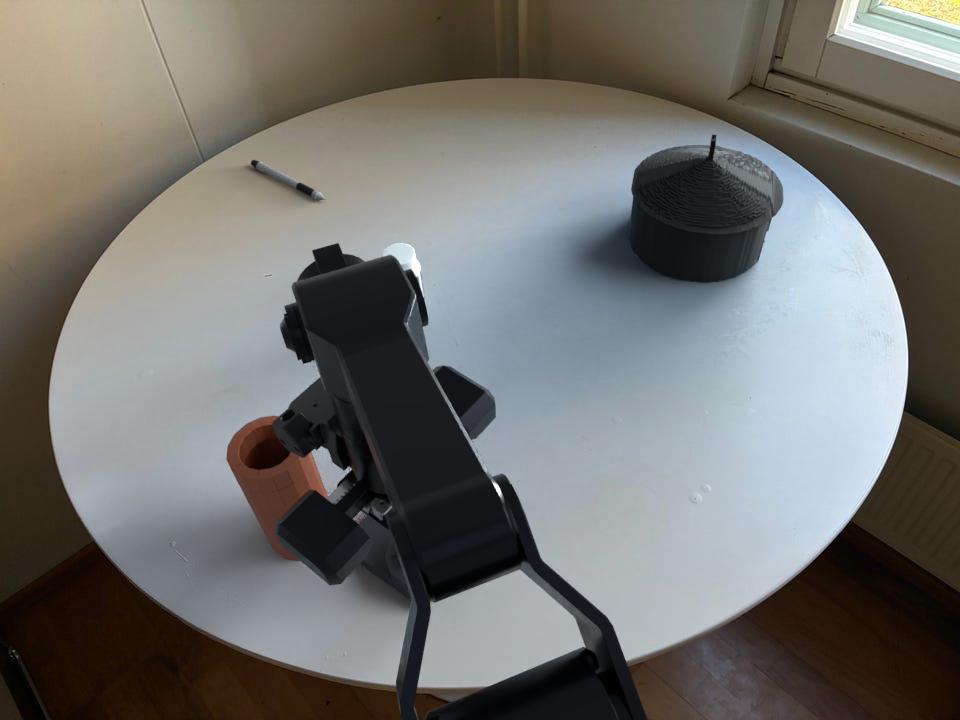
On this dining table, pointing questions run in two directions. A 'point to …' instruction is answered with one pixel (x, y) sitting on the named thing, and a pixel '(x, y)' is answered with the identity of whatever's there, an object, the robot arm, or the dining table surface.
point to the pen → (287, 180)
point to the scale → (384, 557)
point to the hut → (702, 211)
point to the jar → (270, 475)
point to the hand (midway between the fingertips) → (404, 517)
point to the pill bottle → (406, 260)
